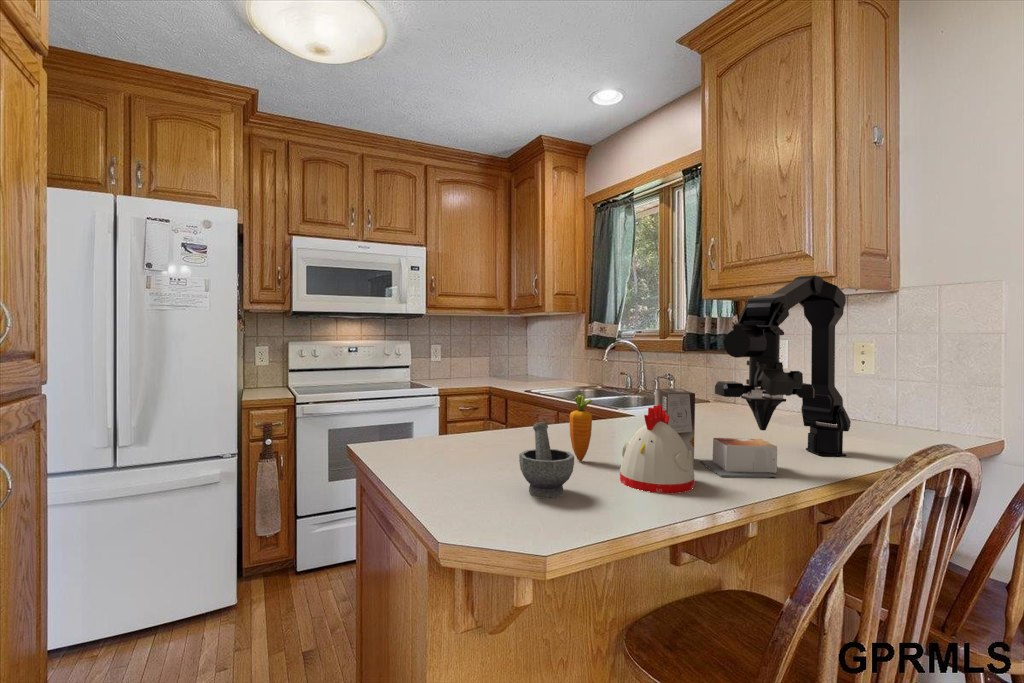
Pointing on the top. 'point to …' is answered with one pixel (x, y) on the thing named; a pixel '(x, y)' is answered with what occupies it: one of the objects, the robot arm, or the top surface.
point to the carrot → (580, 428)
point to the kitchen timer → (657, 457)
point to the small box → (744, 455)
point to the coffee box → (679, 413)
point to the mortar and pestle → (545, 466)
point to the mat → (723, 473)
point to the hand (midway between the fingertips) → (762, 430)
